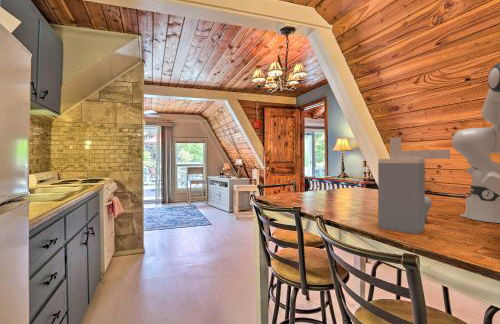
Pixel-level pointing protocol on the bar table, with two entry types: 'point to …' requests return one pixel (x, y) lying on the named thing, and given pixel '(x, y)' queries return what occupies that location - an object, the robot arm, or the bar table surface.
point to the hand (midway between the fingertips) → (469, 168)
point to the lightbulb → (427, 206)
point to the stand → (401, 195)
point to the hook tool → (415, 152)
